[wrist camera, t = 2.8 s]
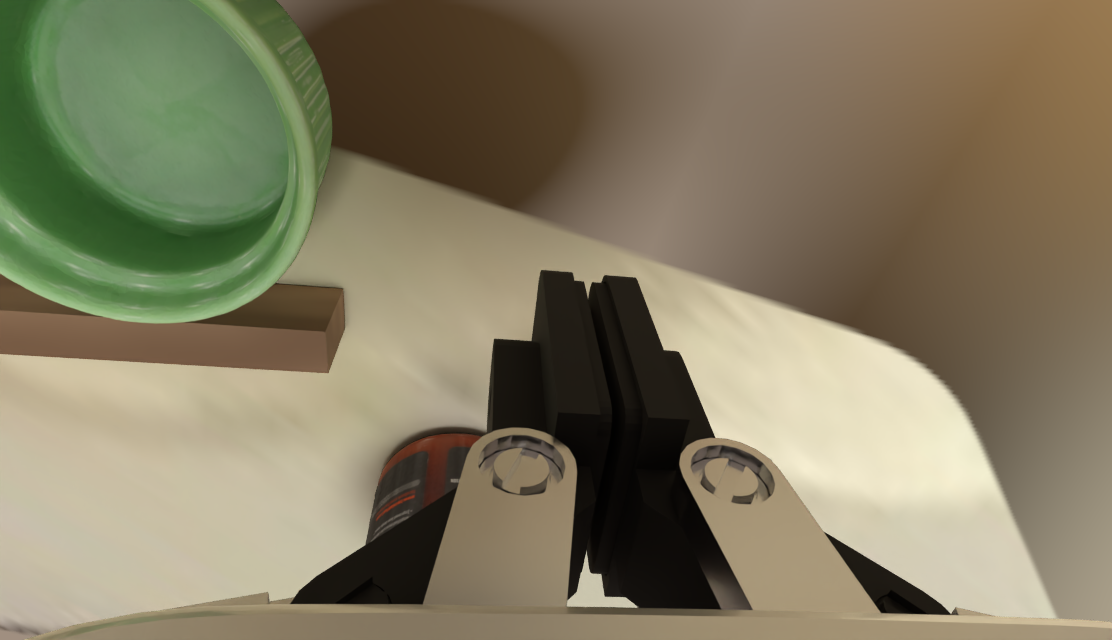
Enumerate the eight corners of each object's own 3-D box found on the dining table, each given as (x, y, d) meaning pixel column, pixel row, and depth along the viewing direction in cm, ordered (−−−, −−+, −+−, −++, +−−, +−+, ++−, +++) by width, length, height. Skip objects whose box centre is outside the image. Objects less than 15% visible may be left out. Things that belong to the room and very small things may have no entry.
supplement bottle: (366, 517, 27) (290, 855, 18) (397, 409, 24) (327, 744, 15) (506, 542, 28) (507, 867, 19) (552, 443, 26) (580, 768, 16)
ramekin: (237, -156, 15) (151, -173, 11) (406, 194, 20) (384, 262, 16) (-91, -17, 16) (-267, 9, 12) (145, 284, 21) (67, 368, 17)
